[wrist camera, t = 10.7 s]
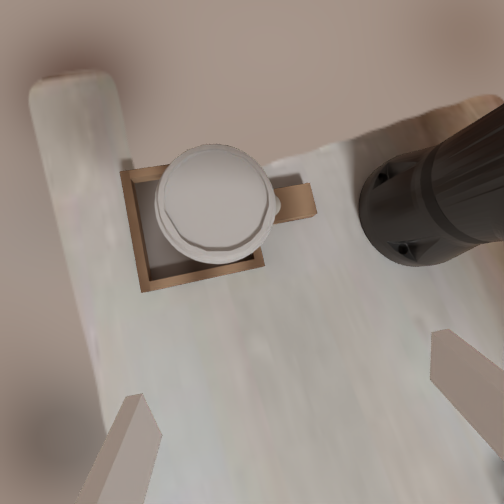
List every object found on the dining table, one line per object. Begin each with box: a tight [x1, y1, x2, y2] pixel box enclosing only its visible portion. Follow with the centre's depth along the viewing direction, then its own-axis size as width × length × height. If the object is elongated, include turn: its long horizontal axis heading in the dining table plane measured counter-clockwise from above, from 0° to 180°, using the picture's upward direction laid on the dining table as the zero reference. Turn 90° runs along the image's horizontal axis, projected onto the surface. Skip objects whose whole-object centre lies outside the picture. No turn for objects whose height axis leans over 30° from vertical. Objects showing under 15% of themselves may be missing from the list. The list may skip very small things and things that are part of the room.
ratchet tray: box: [120, 164, 317, 293], centre depth 31 cm, size 22×14×2 cm, turn 102°
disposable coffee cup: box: [154, 144, 276, 264], centre depth 25 cm, size 10×10×12 cm
